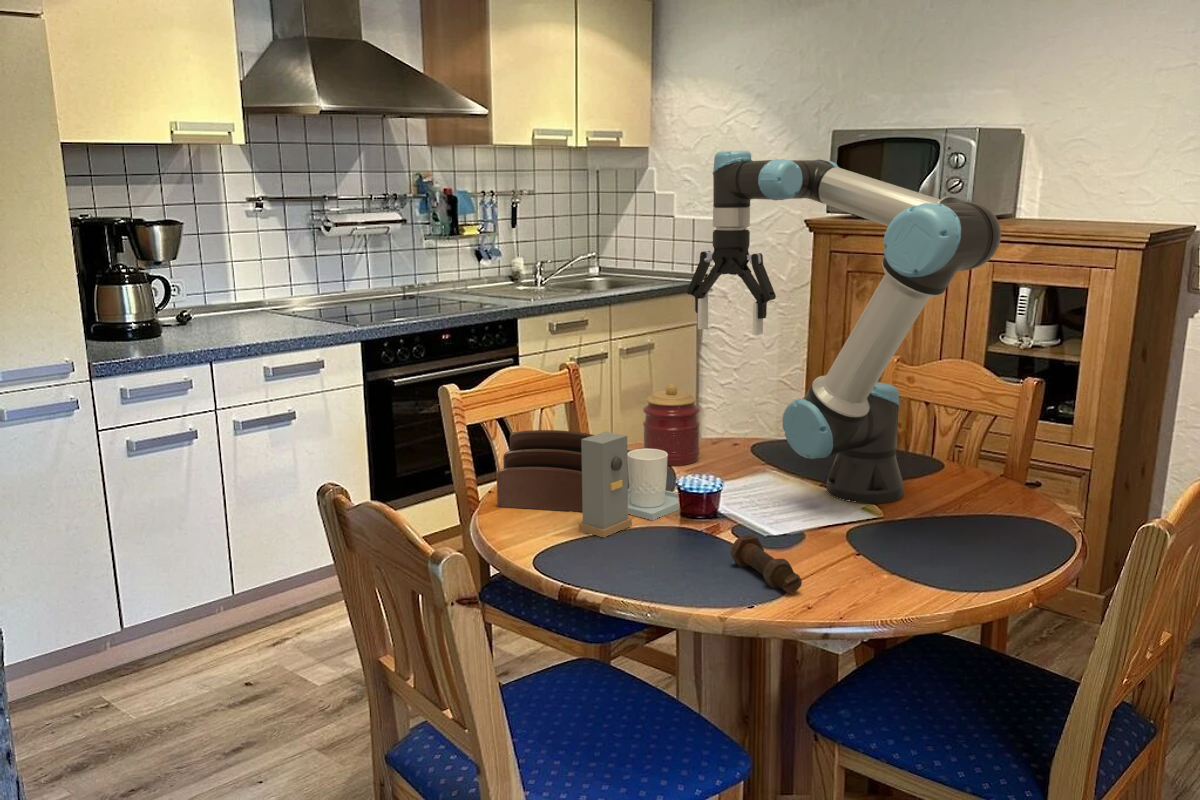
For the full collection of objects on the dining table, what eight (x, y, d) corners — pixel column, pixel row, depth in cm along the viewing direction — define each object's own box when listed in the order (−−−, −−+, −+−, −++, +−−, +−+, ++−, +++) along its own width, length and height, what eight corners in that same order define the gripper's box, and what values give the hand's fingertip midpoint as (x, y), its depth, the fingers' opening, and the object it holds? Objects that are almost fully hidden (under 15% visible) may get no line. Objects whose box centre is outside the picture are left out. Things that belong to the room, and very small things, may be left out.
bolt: (788, 608, 154) (739, 570, 168) (813, 588, 155) (762, 553, 169) (774, 581, 152) (725, 545, 166) (799, 561, 153) (749, 527, 166)
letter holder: (512, 492, 207) (510, 427, 204) (605, 498, 203) (604, 431, 200) (496, 508, 198) (494, 439, 195) (594, 514, 193) (593, 444, 190)
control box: (632, 526, 185) (631, 435, 182) (604, 538, 180) (603, 444, 176) (607, 519, 189) (606, 430, 186) (579, 531, 183) (577, 439, 180)
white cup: (624, 507, 194) (624, 458, 192) (630, 495, 202) (630, 447, 200) (665, 509, 193) (665, 460, 191) (669, 497, 200) (669, 449, 198)
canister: (662, 448, 239) (662, 376, 235) (709, 456, 231) (710, 382, 228) (632, 461, 228) (631, 385, 225) (680, 470, 221) (681, 392, 217)
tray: (692, 503, 198) (692, 496, 198) (652, 520, 188) (652, 513, 188) (640, 490, 207) (640, 484, 206) (599, 507, 197) (599, 500, 197)
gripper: (794, 229, 199) (791, 334, 203) (691, 226, 215) (691, 324, 219) (774, 231, 193) (772, 339, 198) (671, 228, 209) (670, 328, 214)
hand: (729, 331), depth 209 cm, fingers open, 13 cm apart
